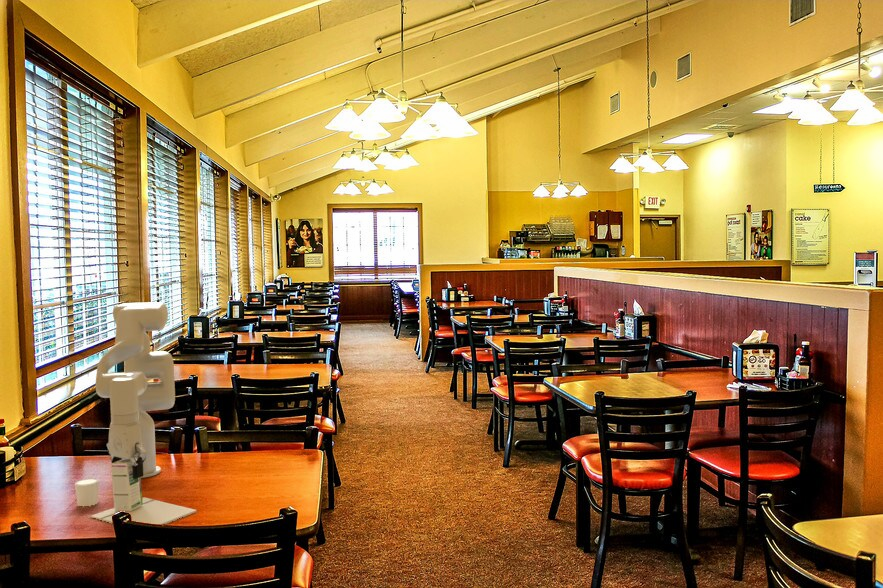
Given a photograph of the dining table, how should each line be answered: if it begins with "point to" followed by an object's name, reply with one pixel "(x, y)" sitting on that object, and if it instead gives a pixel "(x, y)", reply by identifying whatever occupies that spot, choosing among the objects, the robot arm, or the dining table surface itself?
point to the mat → (150, 512)
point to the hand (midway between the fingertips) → (127, 474)
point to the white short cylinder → (87, 492)
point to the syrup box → (125, 486)
